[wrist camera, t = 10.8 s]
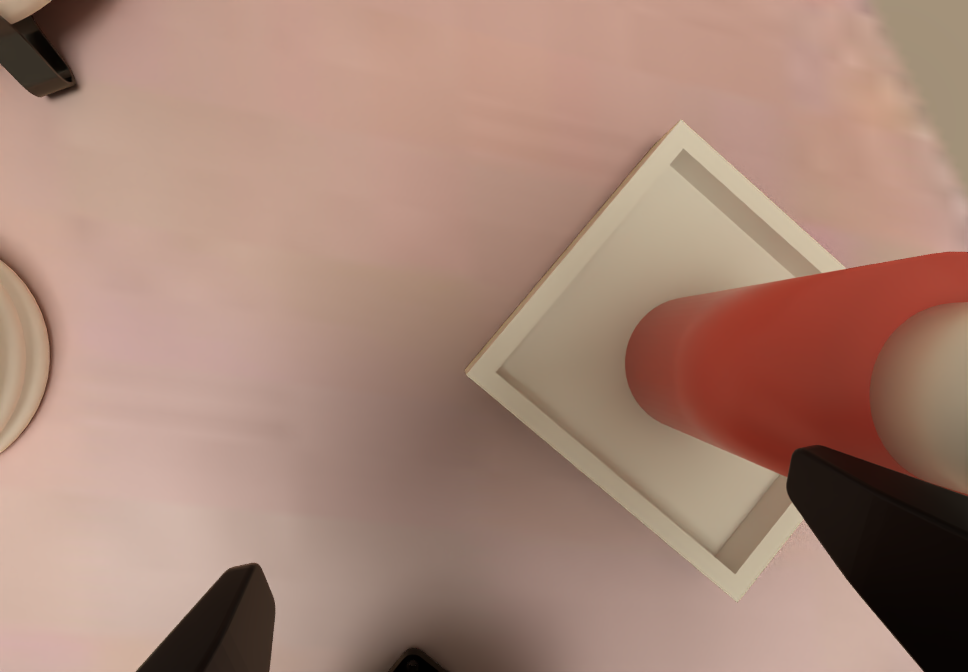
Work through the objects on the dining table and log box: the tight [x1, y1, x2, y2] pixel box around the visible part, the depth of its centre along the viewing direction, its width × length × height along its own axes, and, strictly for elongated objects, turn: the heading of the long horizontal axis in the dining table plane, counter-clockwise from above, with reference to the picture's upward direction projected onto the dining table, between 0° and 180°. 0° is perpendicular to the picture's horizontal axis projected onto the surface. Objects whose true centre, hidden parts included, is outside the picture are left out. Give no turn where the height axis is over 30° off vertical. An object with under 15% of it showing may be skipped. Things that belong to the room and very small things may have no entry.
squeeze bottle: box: [625, 252, 968, 496], centre depth 13 cm, size 6×6×15 cm
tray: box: [464, 120, 846, 603], centre depth 20 cm, size 14×13×2 cm
